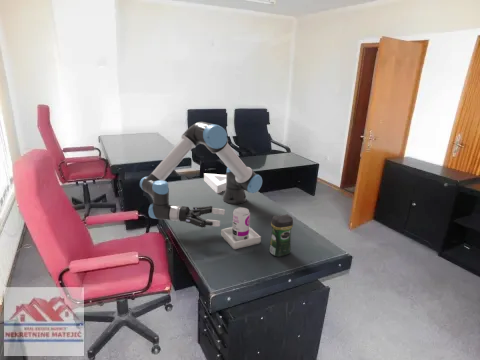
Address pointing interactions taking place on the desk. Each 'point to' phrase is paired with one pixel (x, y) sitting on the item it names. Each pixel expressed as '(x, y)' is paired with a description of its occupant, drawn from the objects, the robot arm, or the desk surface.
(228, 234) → the tray
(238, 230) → the supplement can
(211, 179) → the triangle block
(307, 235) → the desk surface
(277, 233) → the coffee jar
